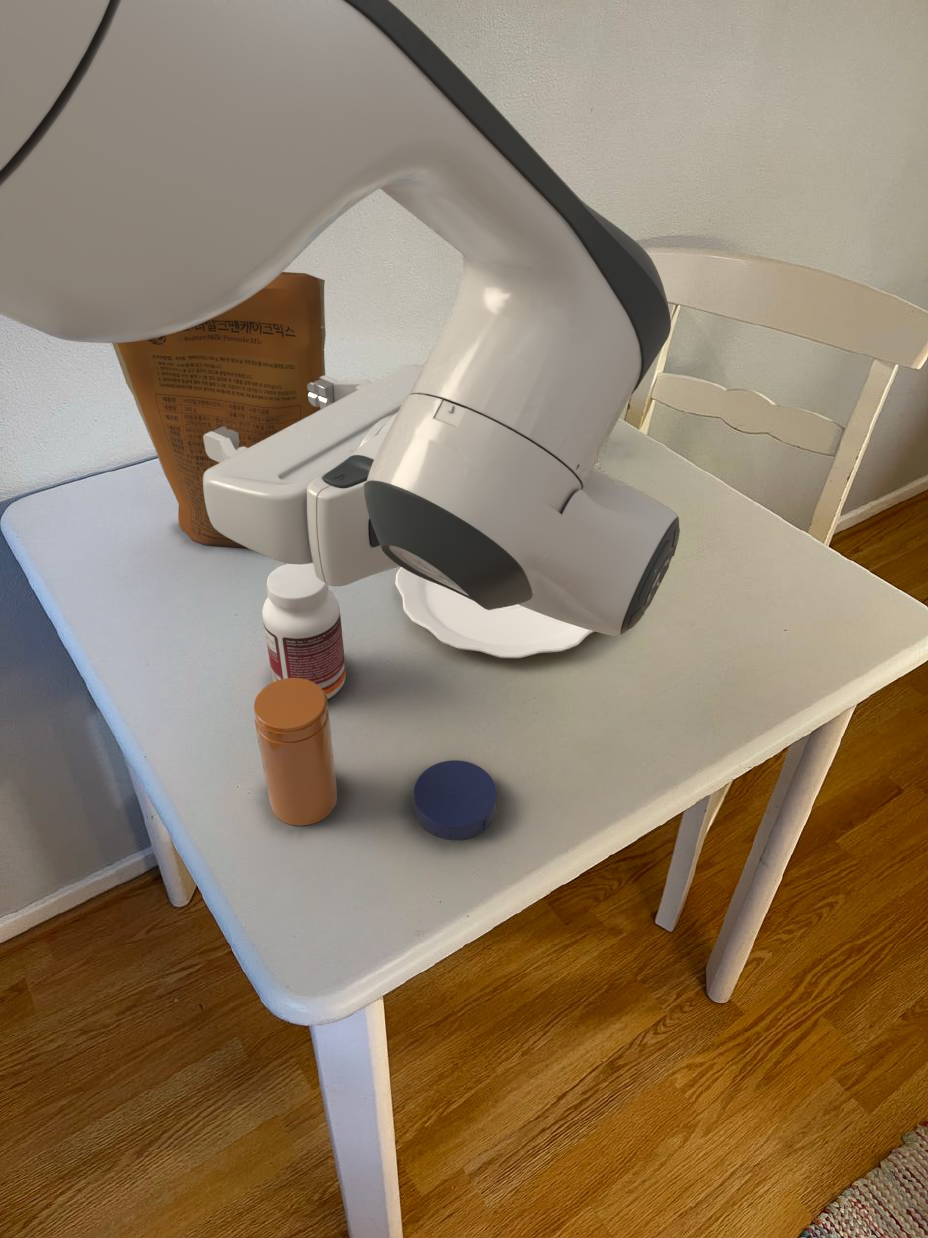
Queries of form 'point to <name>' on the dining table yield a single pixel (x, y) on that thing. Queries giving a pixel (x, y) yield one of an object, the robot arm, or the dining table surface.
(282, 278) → the pancake mix bag
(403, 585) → the plate
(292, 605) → the pill bottle
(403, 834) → the dining table surface
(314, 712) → the jar
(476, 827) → the jar lid
